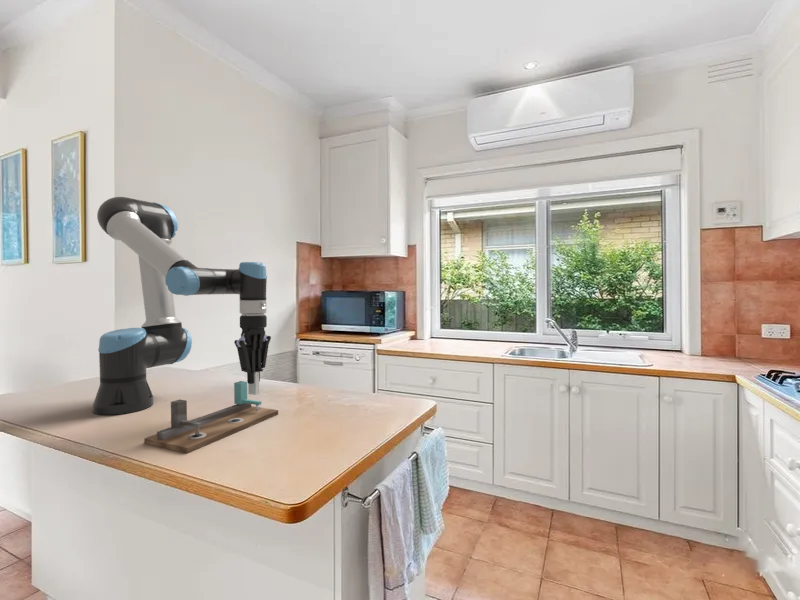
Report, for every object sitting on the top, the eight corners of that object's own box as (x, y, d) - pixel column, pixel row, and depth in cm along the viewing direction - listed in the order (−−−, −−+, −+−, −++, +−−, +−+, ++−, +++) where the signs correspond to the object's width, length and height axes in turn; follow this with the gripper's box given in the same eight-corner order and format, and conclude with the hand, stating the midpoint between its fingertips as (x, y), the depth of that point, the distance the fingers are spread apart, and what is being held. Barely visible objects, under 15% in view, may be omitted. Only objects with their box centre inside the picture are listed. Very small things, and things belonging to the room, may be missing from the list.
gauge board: (144, 443, 97) (143, 405, 96) (240, 408, 124) (240, 379, 124) (187, 453, 91) (187, 413, 91) (278, 414, 119) (278, 383, 118)
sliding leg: (234, 408, 118) (234, 382, 118) (240, 406, 120) (240, 381, 120) (257, 412, 115) (256, 385, 115) (263, 409, 117) (262, 383, 117)
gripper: (247, 316, 115) (247, 400, 116) (278, 313, 127) (278, 389, 128) (226, 315, 118) (227, 397, 119) (258, 312, 130) (259, 387, 131)
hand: (253, 393), depth 124 cm, fingers closed
